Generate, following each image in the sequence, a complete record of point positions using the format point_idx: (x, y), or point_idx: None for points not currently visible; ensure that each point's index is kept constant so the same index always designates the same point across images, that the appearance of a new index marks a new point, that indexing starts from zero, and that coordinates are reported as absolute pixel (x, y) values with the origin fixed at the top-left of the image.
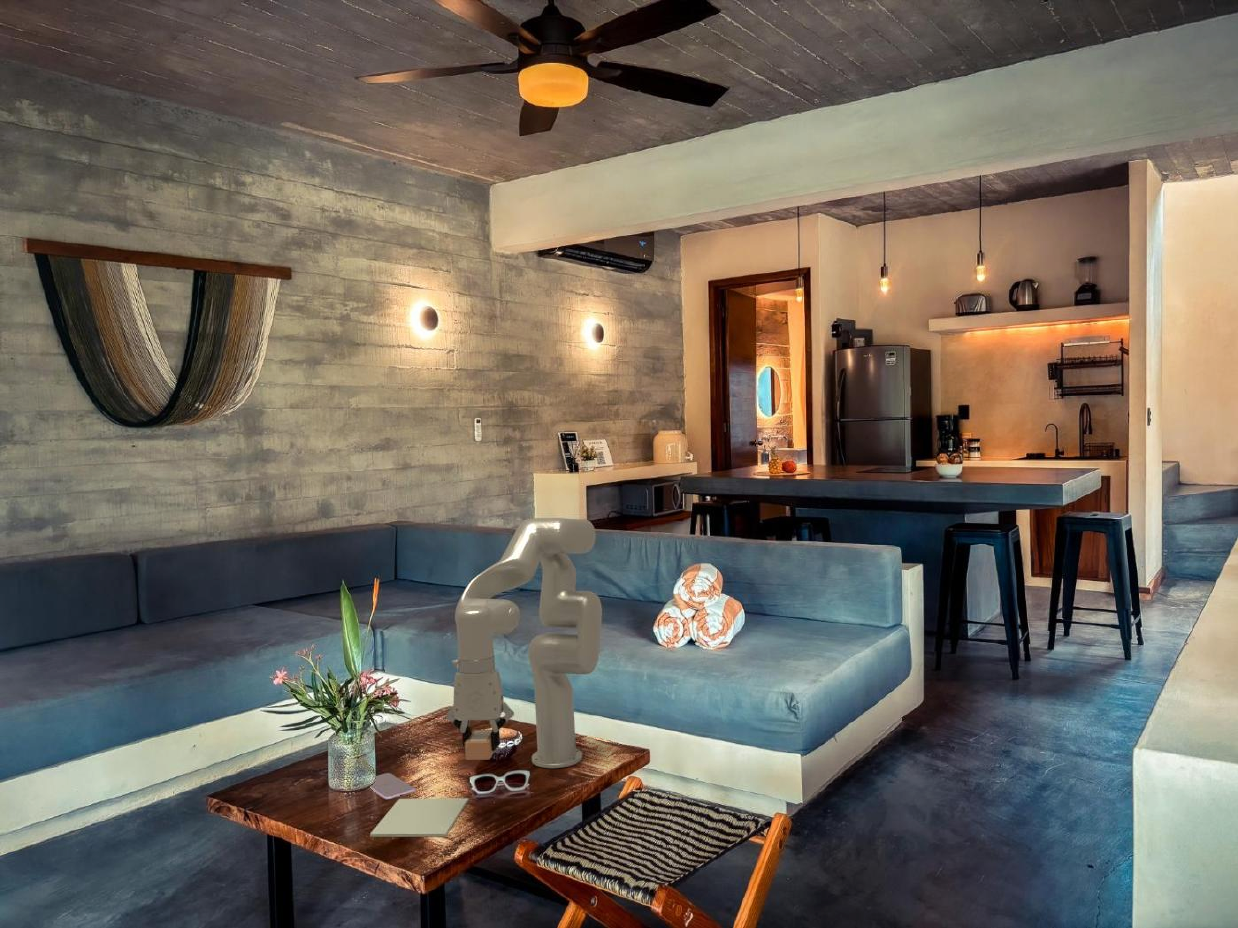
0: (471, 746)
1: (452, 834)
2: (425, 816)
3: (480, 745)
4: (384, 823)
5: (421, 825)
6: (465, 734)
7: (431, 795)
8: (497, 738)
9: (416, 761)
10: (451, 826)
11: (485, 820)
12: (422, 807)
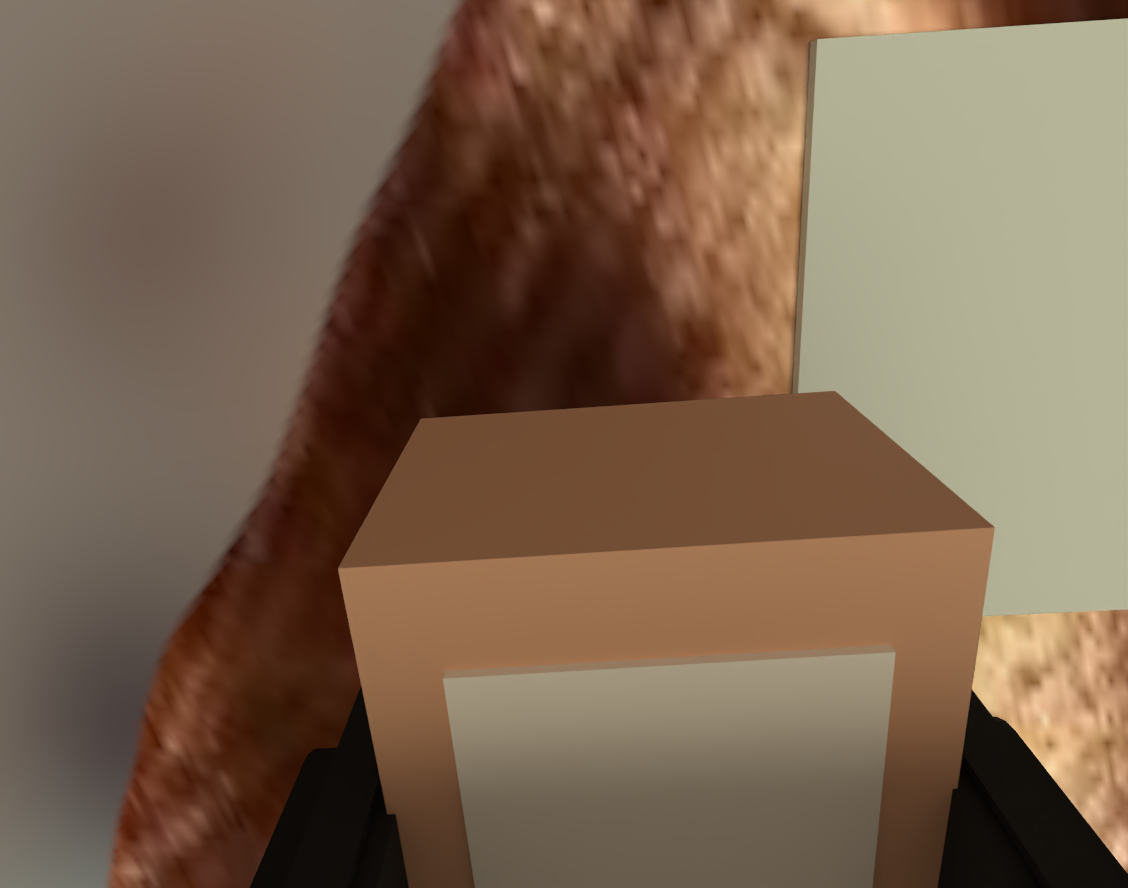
0: (785, 496)
1: (766, 85)
2: (1032, 343)
3: (559, 517)
4: None
5: (1039, 186)
6: (1080, 874)
7: (1038, 678)
8: (279, 850)
9: None
10: (803, 208)
11: (584, 338)
12: (1076, 484)
